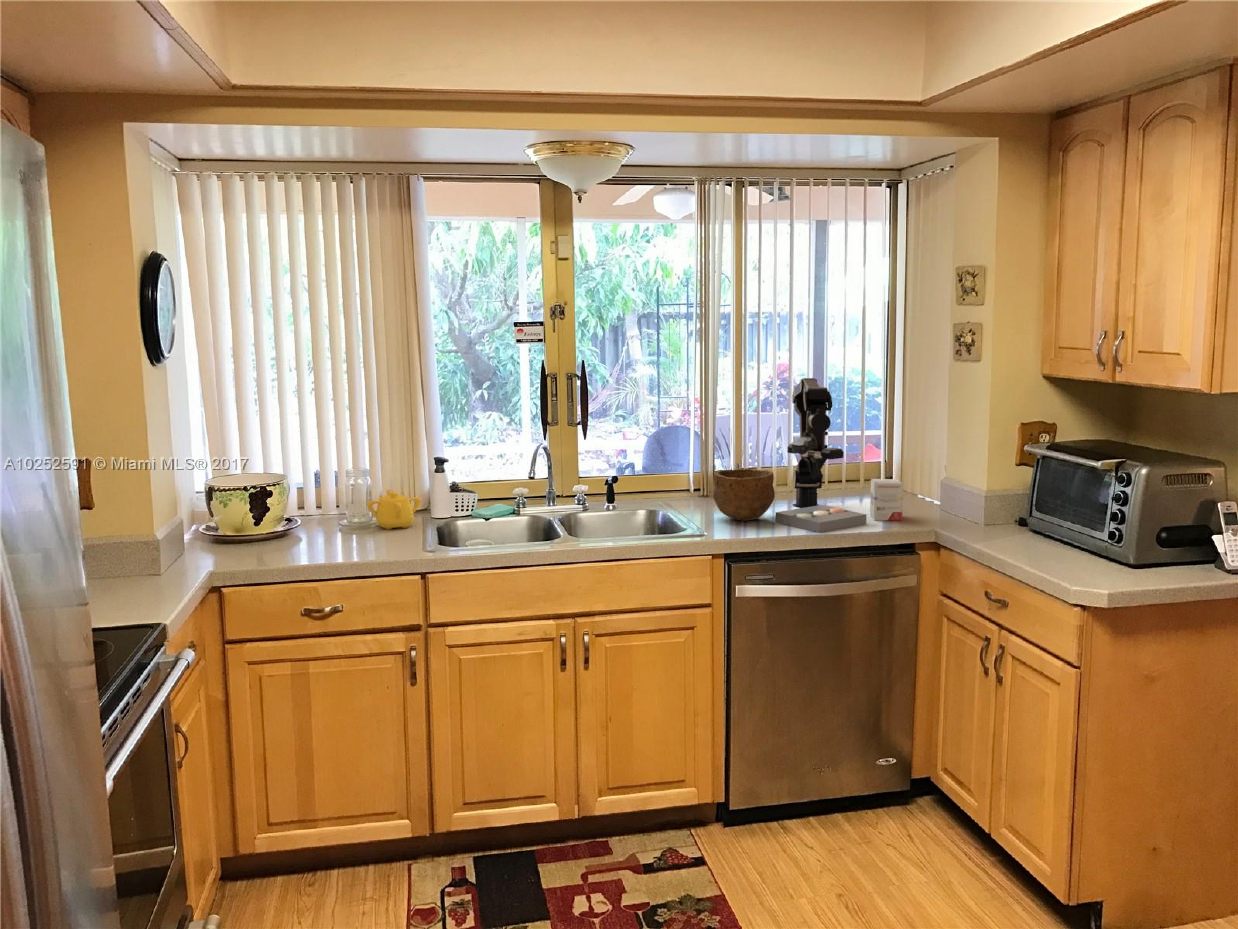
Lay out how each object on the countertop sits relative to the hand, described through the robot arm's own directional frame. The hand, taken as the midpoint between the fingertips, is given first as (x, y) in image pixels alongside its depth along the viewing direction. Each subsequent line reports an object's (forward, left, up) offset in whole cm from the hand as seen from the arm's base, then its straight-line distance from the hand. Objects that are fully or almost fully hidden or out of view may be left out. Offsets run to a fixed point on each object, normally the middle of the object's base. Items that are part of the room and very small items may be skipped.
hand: (814, 478), depth 301 cm
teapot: (-62, -112, -12) cm, 129 cm away
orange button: (+8, +2, -12) cm, 14 cm away
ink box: (+14, +17, -12) cm, 25 cm away
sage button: (+8, -12, -12) cm, 19 cm away
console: (+8, -5, -12) cm, 15 cm away
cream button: (+8, -5, -12) cm, 15 cm away
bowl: (-9, -21, -12) cm, 26 cm away
